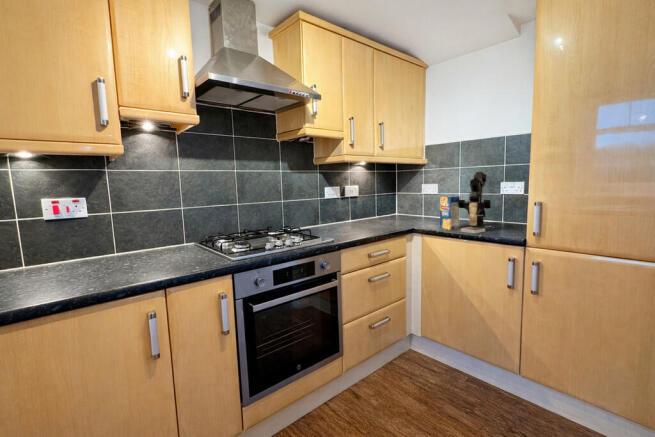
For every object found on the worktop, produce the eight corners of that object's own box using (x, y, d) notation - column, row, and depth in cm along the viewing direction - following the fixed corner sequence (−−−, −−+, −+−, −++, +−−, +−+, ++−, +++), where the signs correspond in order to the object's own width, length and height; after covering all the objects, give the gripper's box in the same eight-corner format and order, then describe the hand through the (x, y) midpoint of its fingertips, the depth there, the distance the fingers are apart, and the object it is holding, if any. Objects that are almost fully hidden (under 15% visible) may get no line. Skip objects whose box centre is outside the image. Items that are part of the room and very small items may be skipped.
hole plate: (460, 231, 195) (460, 228, 195) (470, 229, 200) (470, 226, 200) (474, 233, 187) (474, 230, 186) (485, 231, 191) (485, 228, 191)
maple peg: (467, 224, 195) (468, 202, 193) (474, 224, 195) (474, 202, 194) (471, 225, 190) (472, 203, 189) (478, 225, 191) (478, 203, 189)
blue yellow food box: (450, 230, 201) (450, 196, 199) (439, 227, 212) (440, 196, 209) (459, 229, 203) (459, 196, 201) (448, 227, 214) (448, 195, 211)
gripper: (458, 187, 198) (455, 205, 190) (491, 186, 188) (489, 206, 181) (460, 198, 206) (457, 216, 198) (491, 198, 196) (489, 217, 188)
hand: (472, 214), depth 191 cm, fingers closed on maple peg, 4 cm apart
